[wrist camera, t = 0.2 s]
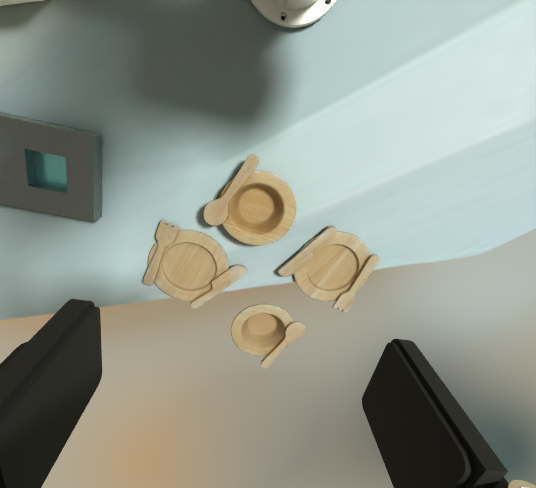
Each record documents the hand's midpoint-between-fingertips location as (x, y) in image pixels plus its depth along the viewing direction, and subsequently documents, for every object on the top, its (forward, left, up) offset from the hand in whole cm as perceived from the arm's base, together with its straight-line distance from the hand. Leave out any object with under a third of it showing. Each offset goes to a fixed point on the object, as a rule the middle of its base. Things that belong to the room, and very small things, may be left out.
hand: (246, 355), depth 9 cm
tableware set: (+16, +5, -37) cm, 41 cm away
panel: (+6, -32, -37) cm, 49 cm away
